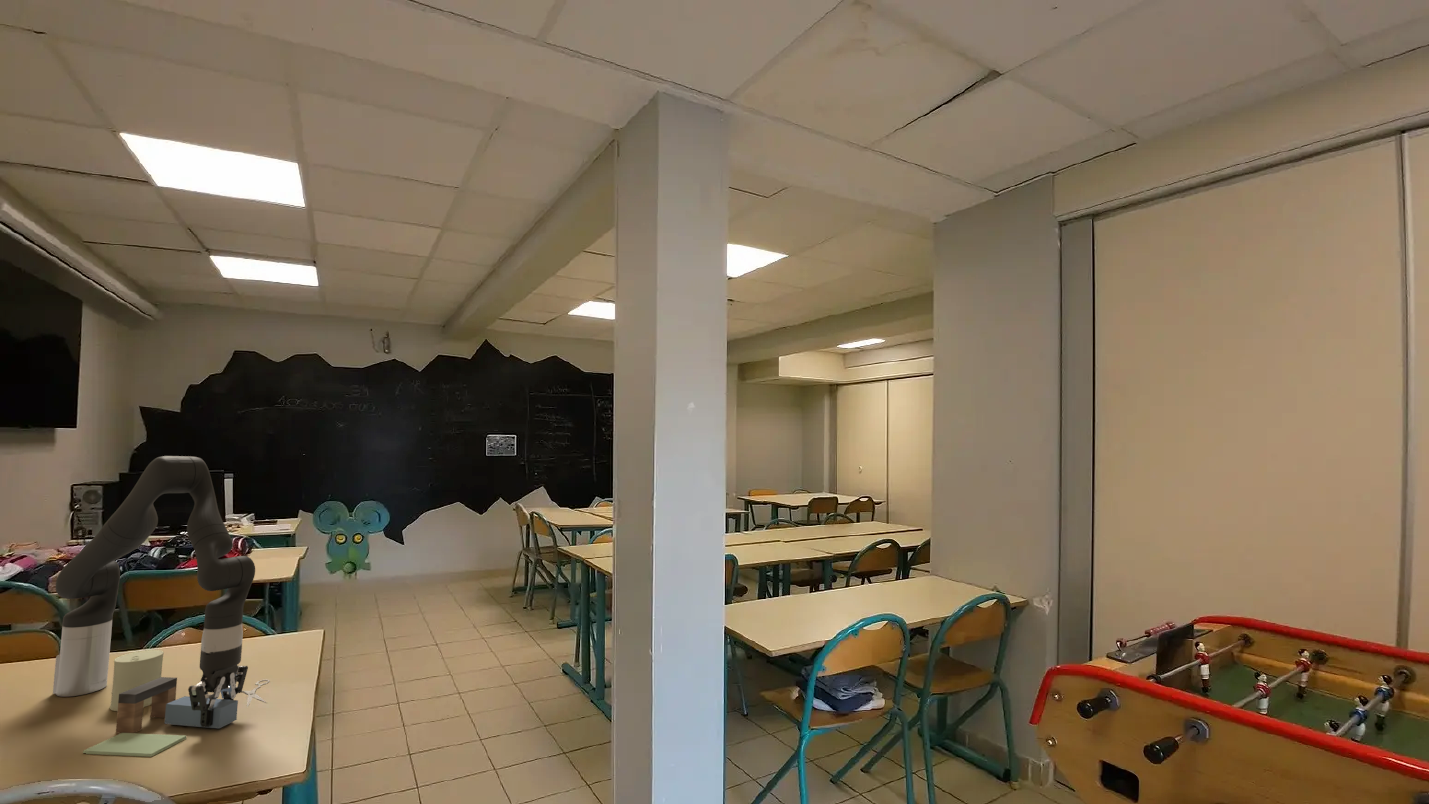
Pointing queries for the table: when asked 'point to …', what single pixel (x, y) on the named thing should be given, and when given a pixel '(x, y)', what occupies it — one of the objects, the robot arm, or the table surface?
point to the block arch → (134, 701)
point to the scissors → (252, 692)
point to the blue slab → (184, 715)
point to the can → (135, 673)
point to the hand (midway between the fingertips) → (216, 720)
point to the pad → (135, 744)
